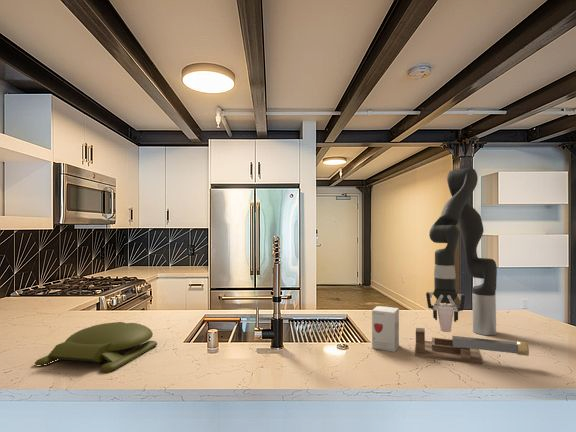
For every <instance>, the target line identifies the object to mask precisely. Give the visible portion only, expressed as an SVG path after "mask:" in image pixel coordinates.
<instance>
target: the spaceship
mask: <svg viewBox="0 0 576 432" xmlns="http://www.w3.org/2000/svg"><path fill="white" fill-rule="evenodd" d="M152 338H153V331H152V329H150V327H148V326H146V325H144V324H141V323H136V322H121V321H118V322H115V321H114V322H106V323H105V322H104V323H101V324H96V325H91V326H89V327H85V328H83V329H81V330H78V331H76V332H73V334H71V335H70V336H68V337H67V338H66V339H65V341H64V342H61V343H58V344H56V345H55V346H54V347H53V349H52V350H51V351H50V352H49V353H48V355H46V356H43V357H41V358H38V359H37V360H36V361H35V362H34V365H35V364H36V365H44V364H48V363H50V362H52V361H55V360H57V359H60V360H66V361H67V360H68V361H77V362H78V361H81V362H91V363H101V362H104V361H105V360H106V361H107V362H106V363H104V364H102V365H101V366H100V368H99V369H100V371H101V372H102V371H103V373H109V372H108V371H112V372H113V370H114V371H116V370H117V368H118V369H119V368H121V367H123V366H124V365H126V364H128V363H130V362H131V361H133V360H134V358H135V359H136V357H137V356H138V357H140V356H142V355H143V354H145V353H147V352H148V351H147V350H149V349H150V350H152V349H153V348H152V347H154V346H155V347H157V345H158V342H157V341H156V340H150V339H152ZM132 347H134V348H132ZM155 347H154V348H155ZM129 348H132V349H130V350H129V351H126V352H125V353H123V354H121V353H119V352H117V351H120V350H126V349H129ZM151 348H152V349H151ZM150 350H149V351H150ZM146 351H147V352H146ZM144 352H145V353H144ZM142 353H143V354H142ZM141 354H142V355H141ZM139 355H140V356H139ZM138 357H137V358H138ZM132 359H133V360H132ZM130 360H131V361H130ZM129 361H130V362H129ZM127 362H128V363H127ZM125 363H126V364H125ZM123 364H124V365H123ZM36 365H35V366H36ZM122 365H123V366H122ZM120 366H121V367H120ZM115 369H116V370H115Z"/></svg>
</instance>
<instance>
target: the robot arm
mask: <svg viewBox="0 0 576 432" xmlns="http://www.w3.org/2000/svg"><path fill="white" fill-rule="evenodd" d="M446 180H447V182H446V183H447V186H448V189H449V192H450V196H451V197H450V198H449V199H448V200H447V202H446V203H445V204H444V206H443V208H442V211H441V214H440V216H439V217H438V218H437V219H436V220H435V222H434V223H433V224H432V225H431V227H430V229H429V239H430V240H431V241H432V242H433V243H434V244H435V243H437V244H446V246H445V248H440V249H436V250H435V251H434V268H433V269H434V272H433V276H434V278H433V279H434V280H433V281H434V283H433V284H434V286H433V287H434V290H433V291H430V292H429V291H427V292H426V293H425V296H426V303H427V304H426V305H427V308H428V309H431V310H432V317H433V319H434V320H435V321H438V309H437V307H438V306H437V305H439V304H446V303H447V304H450V305H452V307H454V310H453V322H455V323H456V322H457V321H459V312H462V311H463V310H464V308H465V307H464V306H465V301H466V296H465V294H464V293H462V294H461V293H457V290H456V288H457V287H456V286H457V285H456V284H457V283H456V280H457V279H456V277H457V274H456V268H455V267H456V266H455V257H456V256H455V255H456V251H457V250H456V249H457V245H458V242H459V239H460V234H461V237H462V238H461V239H462V243H463V247H464V253H465V261H466V267H467V268H466V269H467V272H468V274H469V276H470V277H471V278H475V279H480V280H481V279H482V280H483V283H481V284H480V285H479V284H478V285H474V286H473V287H472V288H471V293H472V294H471V295H472V296H471V297H472V332H473V333H475V334H477V335H484V336H494V335H497V304H496V303H497V300H496V298H497V297H496V294H497V293H496V291H497V280H498V279H497V275H498V266H497V262H496V261H495V260H494V259H492V258H485V257H484V258H483V257H479V255H478V250H477V248H478V246H479V243H480V241H481V239H482V237H483V234H484V223H483V221H482V220H483V219H482V216H481V214H480V213H479V212H478V210H476V208H474V207H473V205H471V204H470V203H469V202H468V200H470V197H471V196H472V194H473V192H474V191H475V189H476V187H477V185H478V174H477V171H476V169H474V168H473V167H465V168H460V169H459V168H458V169H453V170H450V171H448V173H447V175H446ZM457 225H458V226H459V228H458V227H457ZM433 296H434V297H435V299H436V300H435V302H434V304H432V302H431V299H432V297H433ZM457 298H458V300H459V306H457V305H456V303H455V301H454V300H456V299H457Z"/></svg>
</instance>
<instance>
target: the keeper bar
mask: <svg viewBox="0 0 576 432" xmlns="http://www.w3.org/2000/svg"><path fill="white" fill-rule="evenodd" d="M451 340H452V344H453V347H462V348H471V349H477V350H479V351H480V350H481V351H491V352H499V353H500V352H501V353H506V354H508V353H509V354H516V355H518V356H527V357H529V356H530V348H529V342H528V341H518V340H516V341H509V340H496V339H488V338H478V337H468V336H460V335H459V336H458V335H452V338H451Z"/></svg>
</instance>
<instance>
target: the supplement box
mask: <svg viewBox="0 0 576 432" xmlns="http://www.w3.org/2000/svg"><path fill="white" fill-rule="evenodd" d="M399 346H400V308H399V307H390V306H383V305H382V306H381V305H376V307H374V308H373V309H372V310H371V348H372V349H375V350H376V349H377V350H381V351H387V352H394V353H395V352H396V351H397V349H398V348H399Z"/></svg>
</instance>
